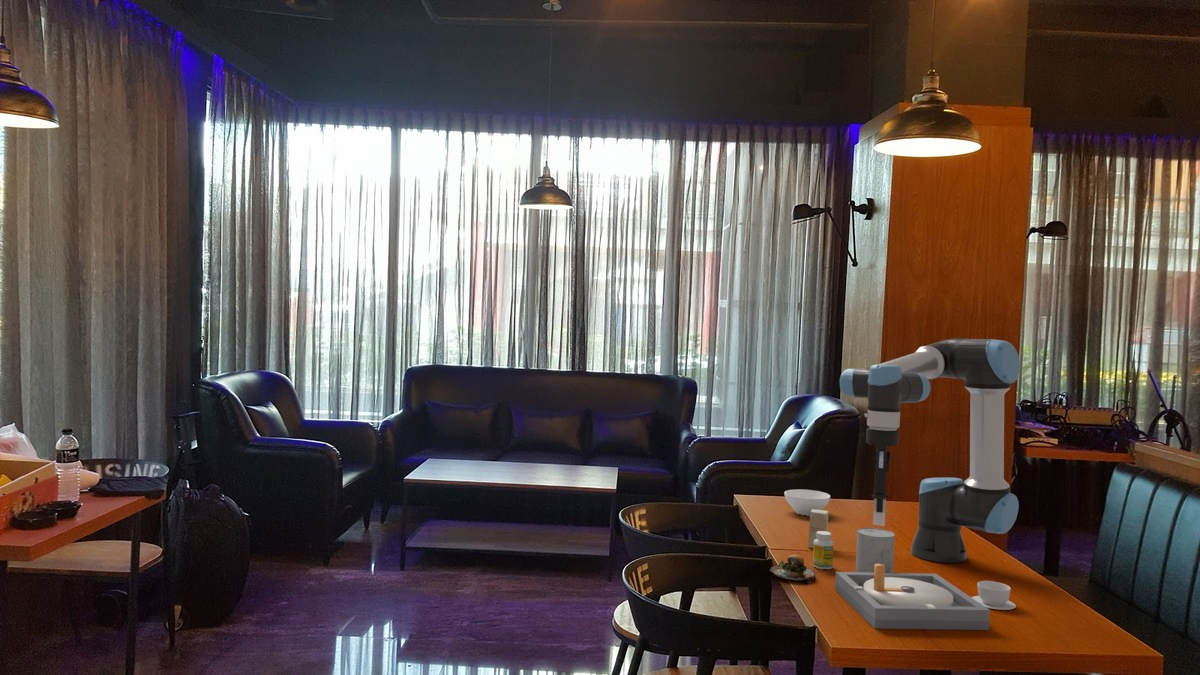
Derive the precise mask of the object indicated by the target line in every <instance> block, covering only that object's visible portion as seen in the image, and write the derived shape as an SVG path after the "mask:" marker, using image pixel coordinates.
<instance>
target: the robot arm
mask: <svg viewBox="0 0 1200 675" xmlns="http://www.w3.org/2000/svg"><path fill="white" fill-rule="evenodd" d="M1020 372H1021V363H1020V357H1019V353H1018V352H1017V350H1016V348H1015V346H1014V345H1013V344H1012V343H1011V342H1009V341H1007V340H1003V339H992V338H990V339H989V338H987V339H986V338H983V339H982V338H980V339H979V338H960V337H959V338H951V339H949V338H948V339H945V340H941V341H937V342H934V343H930V344H928V345H924V346H920V347H919V348H918V349H916V350H915V351H914V352H913V353H910V354H907V355H904V356H900V357H898V358H894V359H891V360H888V361H885V362H882V363H879V364H872V365H871V366H868V367H865V368H855V367H854V368H846V369H845V370H843V371H842V373H841V374H840V377H839V388H840V391H841V393H842V394H843V395H845V396H846V397H852V398H854V399H857V398H859V399H867V413H866V412H865V413H864V418H866V425H867V426H868V427H867V428H866V429H865V431H866V432H865V435H866V436H865V442H866V443H867V444H868V445H871V446H872V445H873V446H876V450H873V452H872V459H873V470H874V471H875V474H874V493H873V494H871V496H870V497H871V499H873V515H872V518H873V519H872V525H873V526H882V527H885V526H886V508H887V507H886V504H887V498H889V497H890V496H889V494H886V493H887V489H886V488H887V473H888V472H889V466H890V460H891V451H888V447H895V446H899V444H900V443H899V442H900V431H899V430H898V429H899V428H900V423H901V422H900V421H901V404H908V403H910V404H911V403H912V404H917V403H919V402H922V401H923V402H924V401H925V400H926V399H927V398H928V397H929V395H930V393H931V390H932V389H931V382H930V381H929V380H933V379H937V378H946V379H947V378H949V379H956V380H964V388H965V389H966V391H968V392H969V394H970V396H969V398H970V399H969V401H970V402H969V404H970V405H969V406H970V408H969V410H970V414H969V415H970V417H969V419H970V421H969V424H970V426H969V476H968V478H967V479H965V480H963V479H962V478H960V477H959V478H958V477H944V476H943V477H929V478H924V479H922V480H921V482H920V483H919V492H918V495H919V497H918V499H919V500H918V524H917V525H918V526H917V529H916V532H915V535H914V536H913V540H912V542H911V545H910V546H911V547H910V548H911V549H910V553H911V555H913V556H915V557H917V558H919V559H923V560H926V561H930V562H935V563H936V562H937V563H944V564H945V563H946V564H956V563H957V564H958V563H963V562H966V560H967V548H966V546H965V543H964V538H963V536H962V531H961V530H962V527H965V528H968V529H974V530H977V531H978V530H979V531H983V532H985V533H989V534H990V533H991V534H998V535H1002V534H1006V533H1008V532H1009V531H1010V530H1011V529H1012V527H1013V525H1014V524H1015V522H1016V520H1017V516H1018V514H1019V508H1020V507H1019V505H1020V504H1019V499H1018V497H1017V495H1015V494H1013V493H1012V492H1010V491H1011V490H1010V484H1009V483H1008V482H1007V481H1006V479H1005V478H1004V476H1005V475H1004V473H1005V472H1004V471H1005V460H1004V459H1005V458H1004V457H1005V456H1004V455H1005V394H1006V393H1007V392H1008V391H1009V390H1010V389H1011V385H1012V383H1015V382H1016V381H1017V380H1018V378H1019V373H1020Z"/></svg>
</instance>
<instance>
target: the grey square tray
mask: <svg viewBox="0 0 1200 675" xmlns="http://www.w3.org/2000/svg"><path fill="white" fill-rule="evenodd" d="M885 577H896V578H907V579H913V580H919V581H923V582H927V583H931V584H934V585H937V586H939V587H942V588H944V589H946V590H947V591H949V592H950V593H951V594H952V595H953V606H933V605H932V604H926V606H897V605H880V604H879V603H878V602H876V601H875V600H874V599H873V598H872V597H871V596H870V595H869V594H867V593H866V592H865V591H864V583H865V582H866V581H868V580H870V579H874V573H870V572H856V571H854V572H853V571H835V580H834V581H835V582H834V590H835V591H836V592H837V593H838V594H839V595H840V596H841V597H842V598H843V600H845V601H846V602H847V603H848V604H849V605H850V606H851V607H852V608H853V609H854V610H855V611H856V612H857V613H858V614H859V615H860V616H861V617H862V618H863V619H864V620H866V622H867V623H868V624H869V625H870V626H871V627H872V628H874V629H884V630H885V629H886V630H887V629H889V630H890V629H892V630H894V629H896V630H897V629H899V630H952V631H953V630H957V631H959V630H961V631H964V630H965V631H966V630H968V631H990V614H991V612H990V611H991V610H990V608H987V607H984V606H983V605H982V604H980V603H979V602H977V601H976V600H974V599H973V598H972V597H971V596H970V595H969V594H967V593H965V592H964V591H962V590H961V589H959V588H958V587H957V586H955V585H953V584H952V583H951V582H949V581H948V580H946V579H944V578H943V577H942V576H940V575H939V574H938V573H928V572H927V573H924V572H923V573H922V572H921V573H919V572H917V573H916V572H915V573H913V572H893V573H885Z"/></svg>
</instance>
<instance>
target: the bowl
mask: <svg viewBox="0 0 1200 675" xmlns="http://www.w3.org/2000/svg"><path fill="white" fill-rule="evenodd" d="M783 494H784V498H785V500H786V502H787V503H788V505H790V506H791V508H792V509H793V510H794V512H795V513H796V514H797V515H799V514H801V515H800V516H804V515H807V517H810V512H811V510H812V509H816V510H824V508H825V507H826V506H827V505H828V504H829V502H830V499H831V495H830V494H829V493H827V492H823V491H820V490H813V489H800V488H799V489H788V490H785V491H784V493H783Z"/></svg>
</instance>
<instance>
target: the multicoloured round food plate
mask: <svg viewBox="0 0 1200 675" xmlns="http://www.w3.org/2000/svg"><path fill="white" fill-rule="evenodd" d="M797 553H800V547H799V548H798V552H797ZM786 561H787V562H784V561H783V560H781V561H779V563H778V564H776V565H774V566H771V567H770V568H769V572H770V573H771V574H772V573H773V574H774V575H775V576H777V577H778V578H782V579H784V580H785V579H786V580H792V581H806V580H807V581H806V582H807V584H811V583H814V580H815V579H816V572H815V571H814V570H813V569H810V568H809V567H807V566H805V560H804V558H803V556H801V555H799V554H790V555H789V556H788V557H787V560H786ZM816 580H817V579H816ZM810 582H811V583H810Z"/></svg>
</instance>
